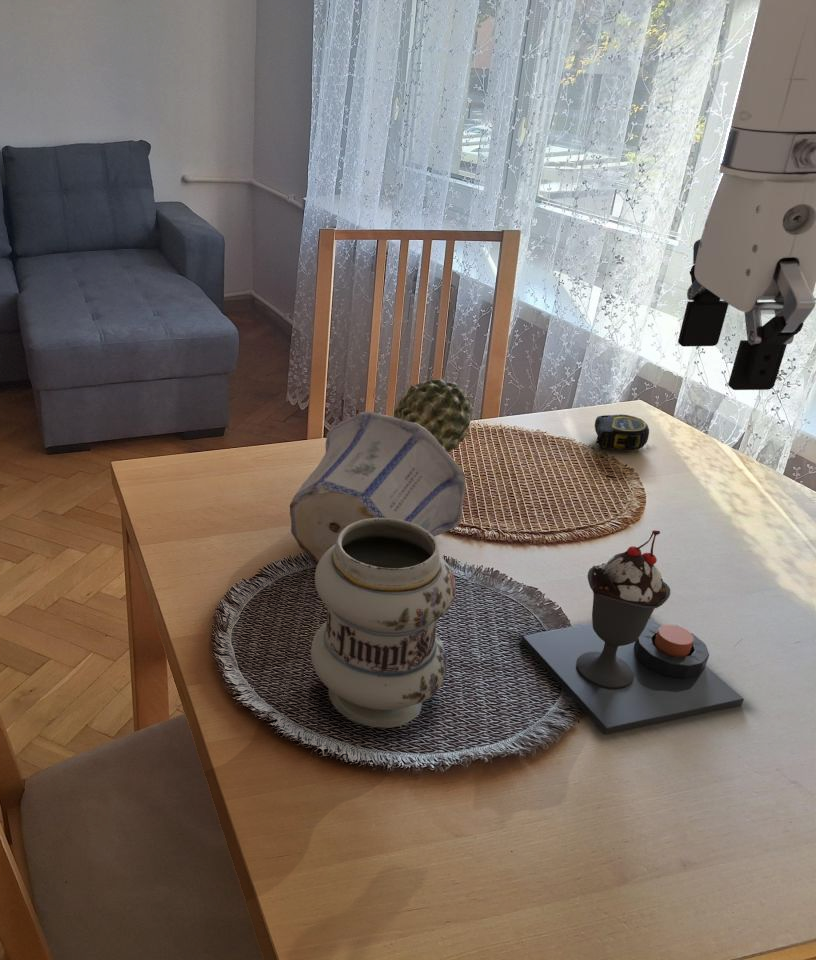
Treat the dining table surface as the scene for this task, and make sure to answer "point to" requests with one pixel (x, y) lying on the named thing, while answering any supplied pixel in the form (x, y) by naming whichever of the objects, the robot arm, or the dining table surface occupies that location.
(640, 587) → the sundae
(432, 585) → the apothecary jar
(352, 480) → the potted plant
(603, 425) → the tape measure
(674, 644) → the button
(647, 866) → the dining table surface
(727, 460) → the dining table surface
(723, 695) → the scale
